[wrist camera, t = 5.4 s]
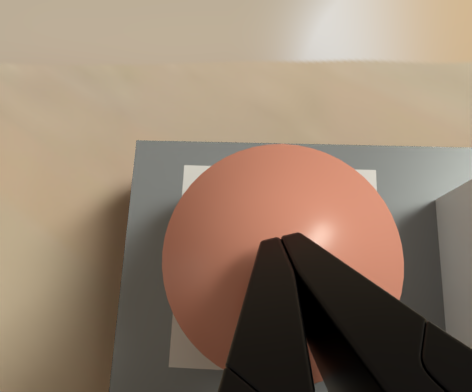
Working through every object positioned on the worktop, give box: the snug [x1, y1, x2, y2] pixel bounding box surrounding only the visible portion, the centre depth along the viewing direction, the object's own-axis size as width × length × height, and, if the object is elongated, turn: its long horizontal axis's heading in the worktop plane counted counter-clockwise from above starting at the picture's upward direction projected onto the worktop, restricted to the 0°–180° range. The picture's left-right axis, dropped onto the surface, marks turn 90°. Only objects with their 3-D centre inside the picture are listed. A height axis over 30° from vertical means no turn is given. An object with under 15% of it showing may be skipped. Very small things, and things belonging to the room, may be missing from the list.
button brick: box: [162, 144, 404, 383], centre depth 11 cm, size 5×5×4 cm
